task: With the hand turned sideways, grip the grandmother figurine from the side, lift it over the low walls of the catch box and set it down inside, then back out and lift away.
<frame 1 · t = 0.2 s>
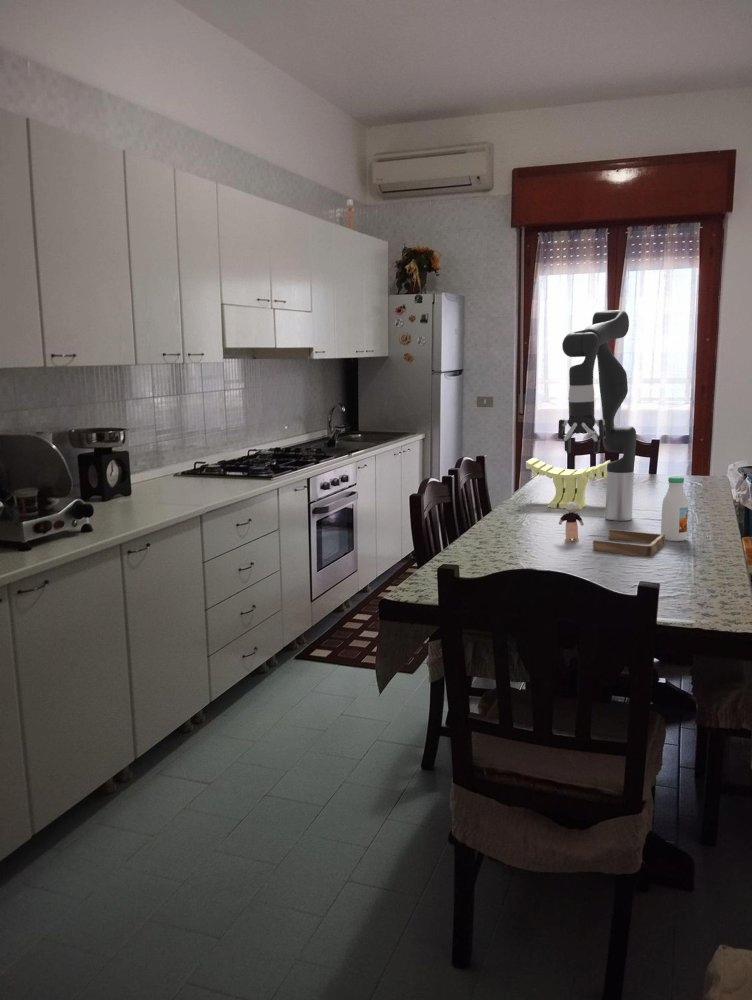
hand: (582, 453, 244), 29 cm above the table, tool pointing down, fingers open, 8 cm apart
grandmother figurine: (570, 541, 254), on the table
catch box: (627, 546, 245), on the table
slatted curved stool: (567, 505, 314), on the table
milk bottle: (673, 539, 254), on the table
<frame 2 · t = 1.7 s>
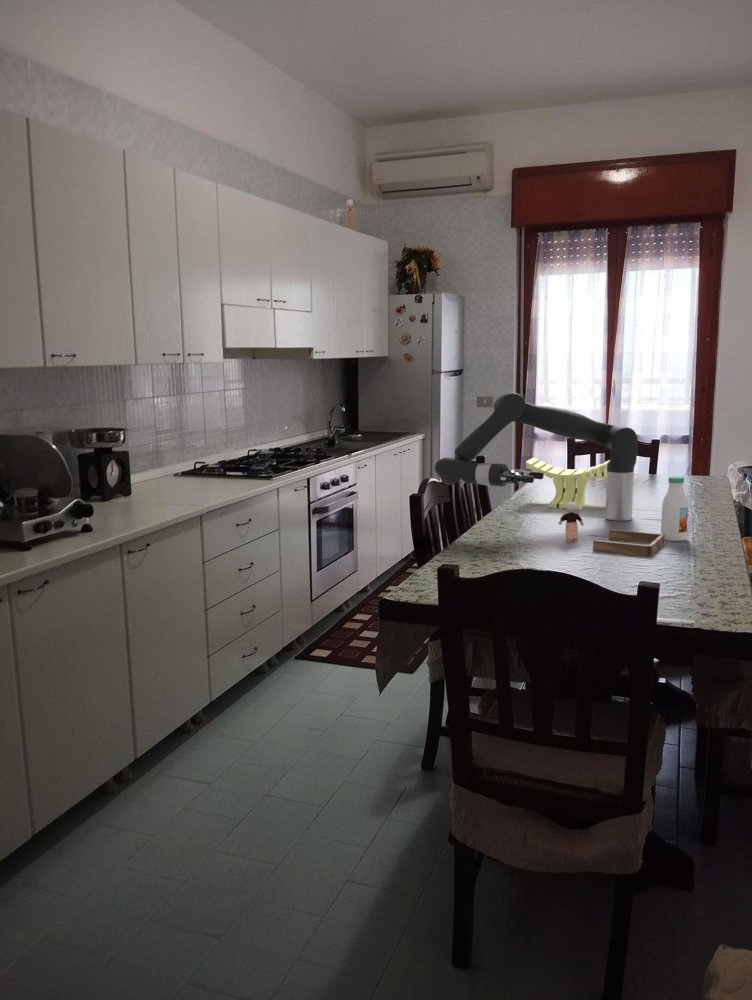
hand: (538, 477, 256), 20 cm above the table, tool horizontal, fingers open, 8 cm apart
nothing on the table moved.
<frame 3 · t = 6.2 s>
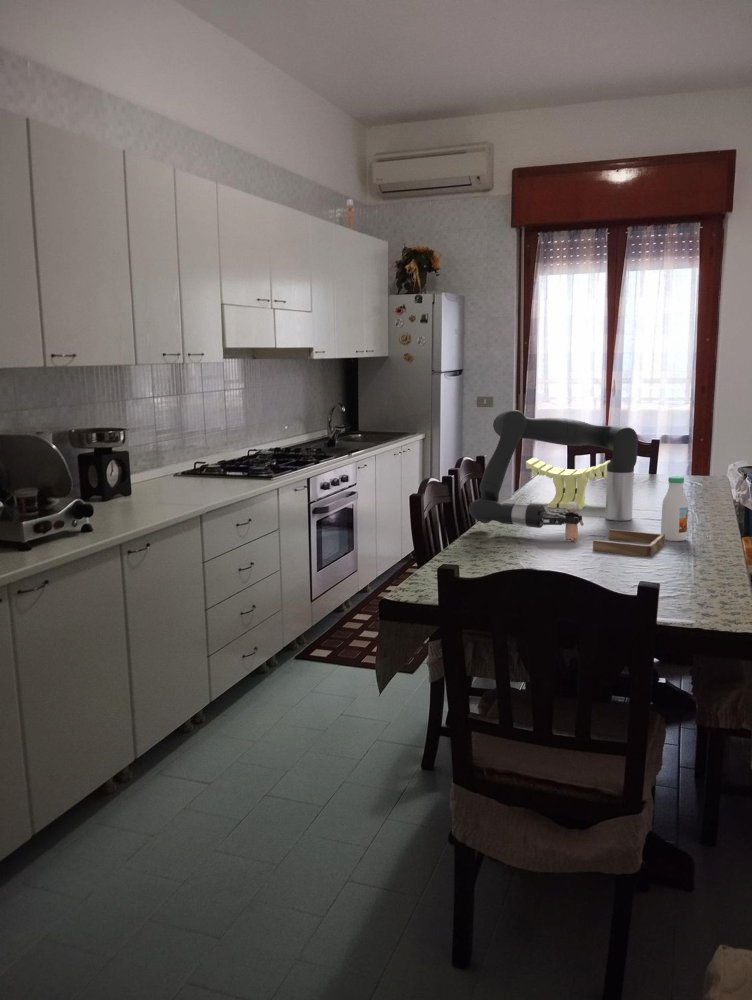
hand: (579, 519, 251), 7 cm above the table, tool horizontal, fingers closed on grandmother figurine, 3 cm apart
grandmother figurine: (570, 541, 254), on the table, touching gripper
everything else where it was.
when the fingers open (8 cm above the table, at t = 12.8 s): grandmother figurine stays where it is, resting in catch box.
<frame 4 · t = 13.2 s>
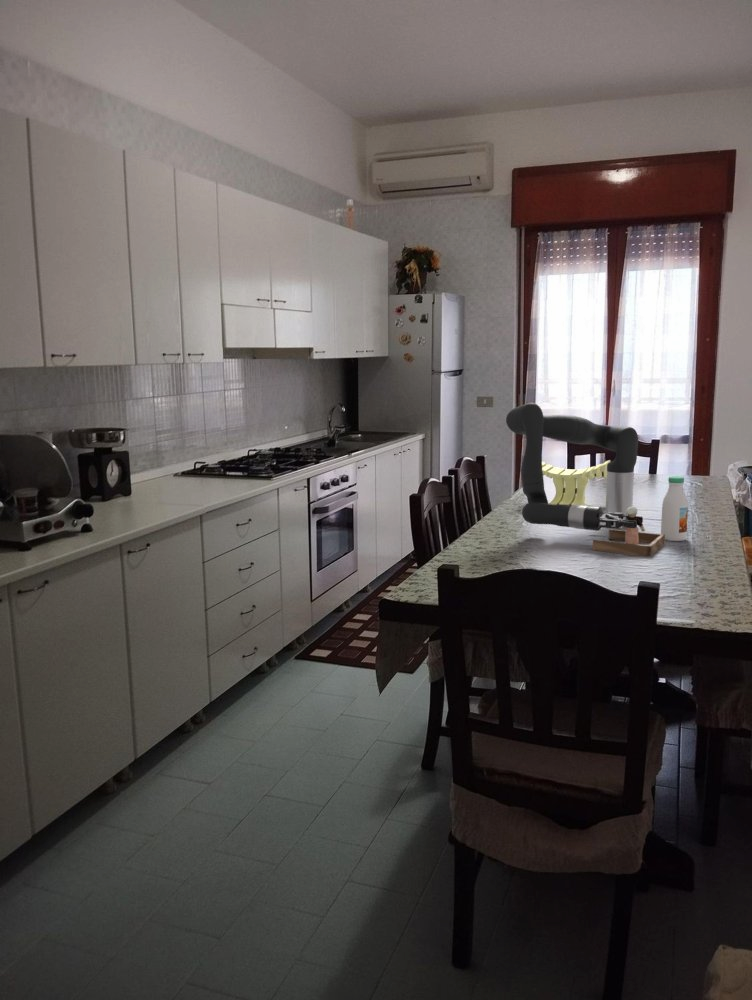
hand: (639, 522, 242), 8 cm above the table, tool horizontal, fingers open, 6 cm apart
grandmother figurine: (630, 547, 245), resting in catch box
everything else where it was.
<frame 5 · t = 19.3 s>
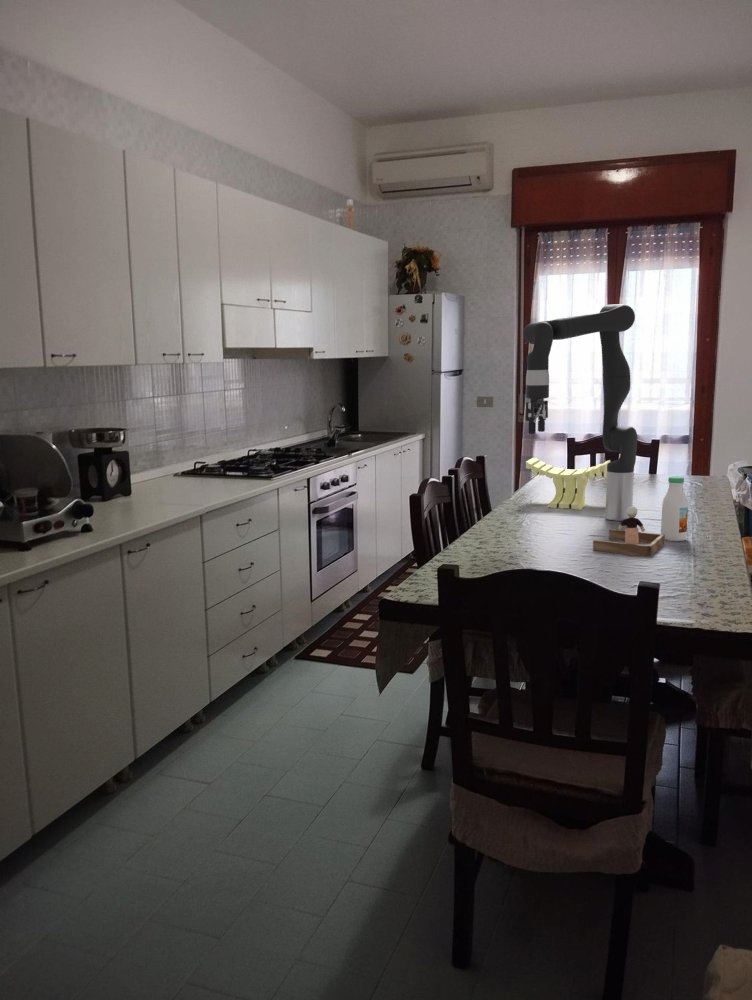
hand: (536, 432, 266), 33 cm above the table, tool pointing down, fingers open, 8 cm apart
nothing on the table moved.
at the end: grandmother figurine inside the target area on the catch box (0.4 cm from its centre), point 0.0 cm above the catch box's base; grandmother figurine tilted 0°; the gripper is holding nothing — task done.
